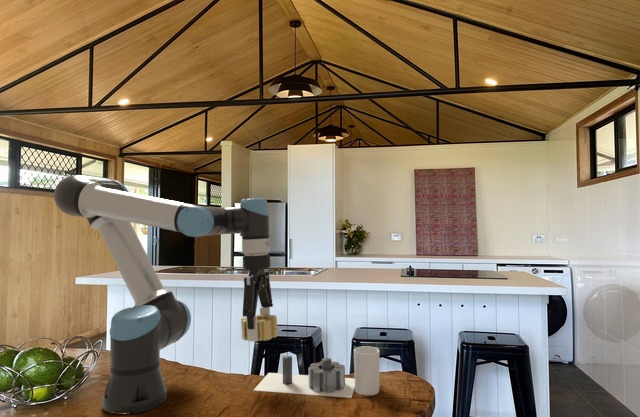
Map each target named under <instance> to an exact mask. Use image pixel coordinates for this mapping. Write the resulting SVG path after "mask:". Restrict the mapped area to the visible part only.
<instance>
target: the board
mask: <svg viewBox="0 0 640 417" xmlns="http://www.w3.org/2000/svg"><path fill="white" fill-rule="evenodd" d="M321 361H322V370H331V362H332V359H331V358H330V357H324V358H322V359H321ZM253 391H256V392H259V391H260V392H271V393H282V394H283V393H284V394H295V395H308V396H309V395H310V396H321V397H323V396H324V397H334V398H335V397H337V398H348V399H351V398H352V397H353V393H354V391H355V377H354V378H351V377H345V385H344V389H342V390H341V391H340V390H337V391H334V393H327V392H322V391H321V392H320V393H319V392H316V391H314V389H313V388H309V382H308V374H293V356H292V355H284V356H282V373H277V372H268V373H267V374H266V375H265V376H264V378H262V379H261V381H260V382H259V383H258V384H257V386H256V387H255V388H254V389H253Z"/></svg>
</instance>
